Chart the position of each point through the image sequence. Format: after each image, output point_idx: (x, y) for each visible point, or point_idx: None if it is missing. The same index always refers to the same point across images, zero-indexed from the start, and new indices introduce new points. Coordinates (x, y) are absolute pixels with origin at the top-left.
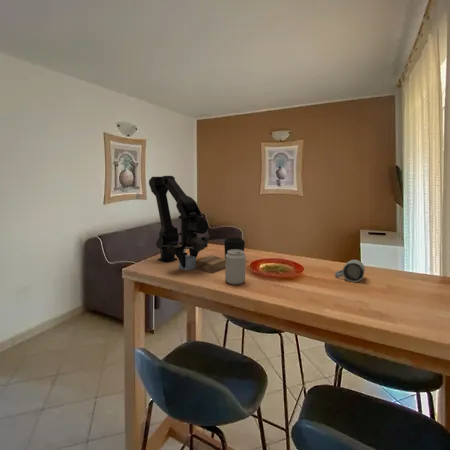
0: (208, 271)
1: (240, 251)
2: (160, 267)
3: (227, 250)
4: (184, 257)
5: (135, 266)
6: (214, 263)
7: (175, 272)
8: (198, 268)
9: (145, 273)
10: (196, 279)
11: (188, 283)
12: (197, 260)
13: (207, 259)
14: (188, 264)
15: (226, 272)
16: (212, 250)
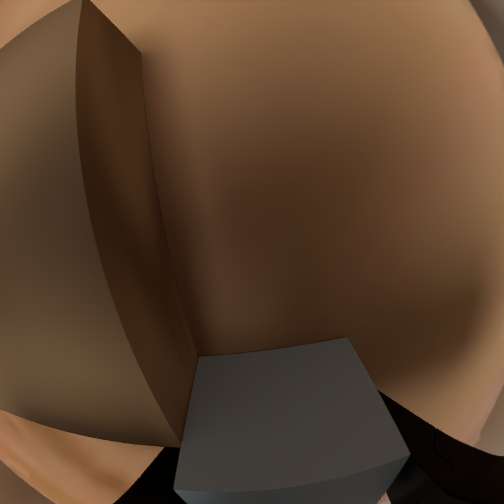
0: (142, 117)
1: None
2: None
3: None
4: (458, 469)
5: None
6: (14, 52)
7: (438, 347)
8: (183, 318)
9: (498, 393)
10: (425, 33)
11: (493, 45)
12: (163, 417)
13: (4, 338)
14: (343, 394)
15: None
16: (12, 454)
